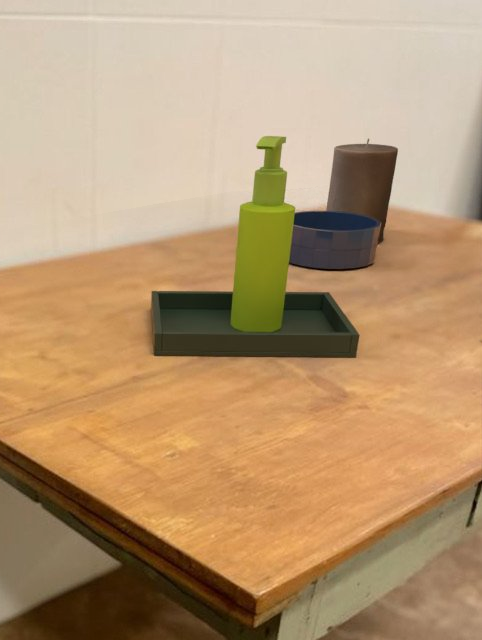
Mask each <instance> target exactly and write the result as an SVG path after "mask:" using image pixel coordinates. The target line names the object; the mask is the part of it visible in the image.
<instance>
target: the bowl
mask: <svg viewBox="0 0 482 640" xmlns="http://www.w3.org/2000/svg"><path fill="white" fill-rule="evenodd" d="M380 227H381V222H380V221H379V220H377V219H375V218H373V217H370V216H366V215H361V214H357V213H349V212H340V211H326V210H303V211H295V215H294V224H293V232H292V241H291V249H290V258H289V264H293V265H296V266H301V267H304V268H311V269H318V270H319V269H320V270H348V269H349V270H350V269H359V268H362V267H368V266H369V265H372V264H374V263H375V260H376V256H377V249H378V244H379V243H378V238H379V233H380Z"/></svg>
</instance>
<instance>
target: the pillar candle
mask: <svg viewBox="0 0 482 640" xmlns="http://www.w3.org/2000/svg"><path fill="white" fill-rule="evenodd" d="M369 142H370V138H367V141H366V143H349V144H348V143H347V144H340V145H336V146H335V147H334V148H333V158H332V165H331V173H330V180H329V188H328V195H327V202H326V210H325V211H340V212H349V213H357V214H361V215H366V216H370V217H373V218H375V219H377V220H379V221H380V222H381V227H380V233H379V238H378V244H380V243H382V242H383V241H384V237H385V236H384V234H385V228H386V224H387V217H388V211H389V206H390V200H391V195H392V187H393V182H394V177H395V172H396V171H395V170H396V166H397V159H398V153H399V148H398V147H396V146H393V145H388V144H377V143H369Z"/></svg>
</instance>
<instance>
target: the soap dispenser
mask: <svg viewBox="0 0 482 640" xmlns="http://www.w3.org/2000/svg"><path fill="white" fill-rule="evenodd" d="M286 142H287V136H279V135H264V136H262V137H261V138H260V139H259V140H258V141H257V143H256V145H255V147H256V150H264V157H263V158H264V159H263V166H260V167H259V169H255V171H254V177H253V189H252V200H250V201H247V202H244V203H242V204H240V205H239V215H238V225H237V239H236V240H237V241H236V249H235V251H236V252H235V262H234V272H233V273H234V275H233V284H232V285H233V288H232V292H233V297H232V310H231V322H230V324H231V326H232V327H233V328H235V329H237V330H240V331H245V332H274V331H277V330H279V329H280V328H281V326H282V317H283V309H284V300H285V292H287V291H286V290H287V283H288V282H287V281H288V273H289V266H290V263H289V258H290V249H291V241H292V232H293V224H294V215H295V212H296V207H295V206H294V205H293V204H291V203H287V202H285V196H286V190H287V189H286V188H287V178H288V171H287V170H285V169H284V168H283V167H281V161H282V160H281V159H282V150H283V144H286Z"/></svg>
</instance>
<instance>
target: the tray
mask: <svg viewBox="0 0 482 640" xmlns="http://www.w3.org/2000/svg"><path fill="white" fill-rule="evenodd" d="M150 292H151V295H150V296H151V297H150V298H151V299H150V316H151V317H150V318H151V331H152V345H153V355H154V356H157V357H158V356H161V357H162V356H165V357H166V356H167V357H168V356H173V357H179V356H180V357H268V358H269V357H270V358H271V357H272V358H274V357H276V358H277V357H278V358H284V357H285V358H357V353H358V348H359V342H360V334H359V332H358V330H357V329H356V328H355V326H354V325H353V323H352V322H351V321H350V320H349V318H348V317H347V315H346V314H345V313H344V311H343V309H342V308H341V307H340V306H339V304H338V303H337V301H336V299H334V297H333V295H332V294H331V292H328V291H323V292H322V291H286V292H285V300H284V309H283V317H282V326H281V328H280V329H279V330H277V331H274V332H245V331H240V330H237V329H235V328H233V327H232V326H231V324H230V322H231V310H232V297H233V291H227V290H226V291H218V290H216V291H215V290H214V291H211V290H210V291H208V290H207V291H205V290H204V291H203V290H191V291H190V290H151V291H150Z"/></svg>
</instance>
